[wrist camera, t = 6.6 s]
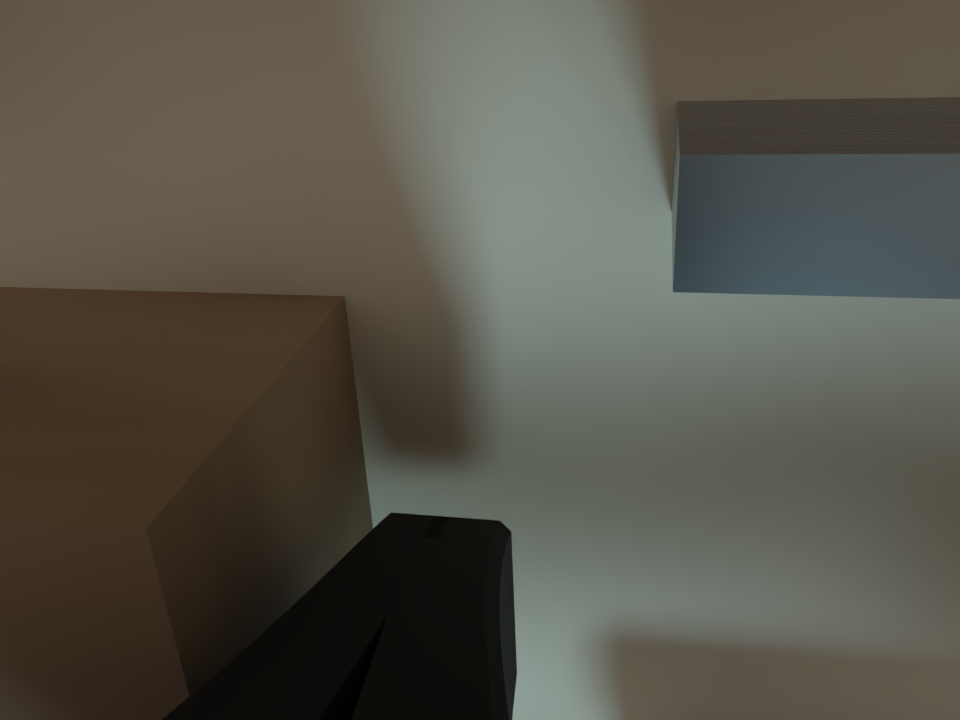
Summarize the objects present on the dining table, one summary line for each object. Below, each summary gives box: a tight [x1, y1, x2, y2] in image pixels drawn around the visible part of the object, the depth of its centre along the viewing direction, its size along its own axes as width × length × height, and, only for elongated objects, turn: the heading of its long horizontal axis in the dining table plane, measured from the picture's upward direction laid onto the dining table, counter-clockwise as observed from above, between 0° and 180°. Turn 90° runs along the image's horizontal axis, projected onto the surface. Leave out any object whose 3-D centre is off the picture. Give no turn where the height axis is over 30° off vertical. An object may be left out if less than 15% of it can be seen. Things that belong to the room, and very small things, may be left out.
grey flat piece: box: [0, 0, 960, 720], centre depth 10 cm, size 14×28×2 cm, turn 93°
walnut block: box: [0, 287, 373, 720], centre depth 9 cm, size 5×5×4 cm
